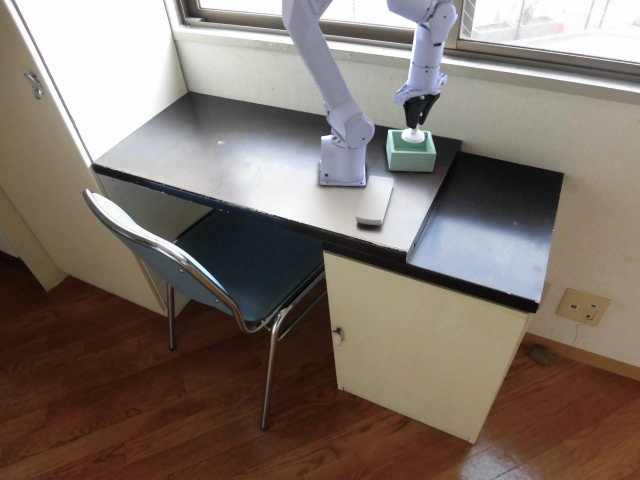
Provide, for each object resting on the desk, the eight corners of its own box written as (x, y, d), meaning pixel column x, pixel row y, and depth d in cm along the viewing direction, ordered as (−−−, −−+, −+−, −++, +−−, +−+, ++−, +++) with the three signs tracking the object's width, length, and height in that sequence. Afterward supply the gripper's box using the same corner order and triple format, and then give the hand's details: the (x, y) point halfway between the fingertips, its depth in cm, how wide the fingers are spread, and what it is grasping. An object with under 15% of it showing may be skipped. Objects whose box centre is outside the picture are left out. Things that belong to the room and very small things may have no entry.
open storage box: (389, 170, 103) (391, 152, 100) (386, 147, 110) (388, 129, 107) (432, 171, 103) (436, 153, 100) (426, 148, 110) (430, 130, 106)
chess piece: (400, 131, 104) (406, 87, 97) (422, 131, 104) (430, 88, 97) (402, 142, 100) (409, 98, 94) (425, 143, 100) (434, 99, 93)
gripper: (418, 79, 85) (407, 145, 94) (464, 58, 92) (450, 120, 102) (388, 67, 89) (381, 131, 98) (435, 47, 96) (424, 109, 105)
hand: (414, 125), depth 100 cm, fingers closed on chess piece
